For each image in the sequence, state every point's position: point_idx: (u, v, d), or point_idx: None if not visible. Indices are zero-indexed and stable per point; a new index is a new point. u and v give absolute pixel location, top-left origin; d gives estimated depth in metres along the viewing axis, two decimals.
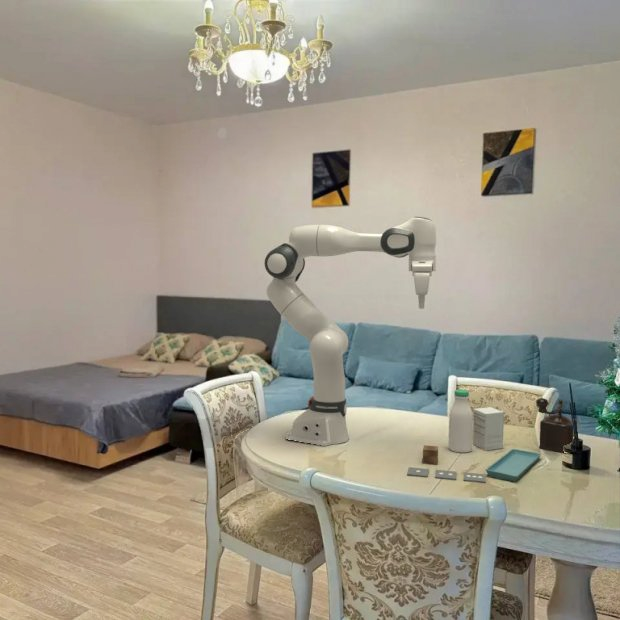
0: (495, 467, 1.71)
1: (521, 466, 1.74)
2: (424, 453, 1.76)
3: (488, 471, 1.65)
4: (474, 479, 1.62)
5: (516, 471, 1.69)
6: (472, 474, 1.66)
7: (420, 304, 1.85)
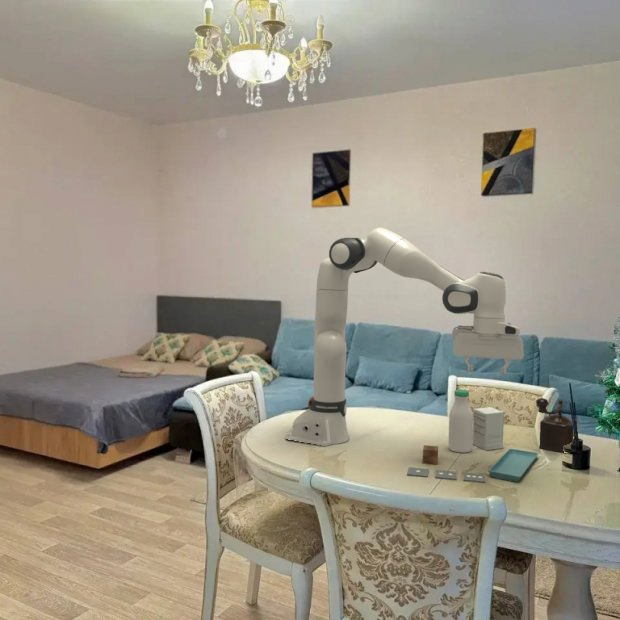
0: (496, 468, 1.71)
1: (521, 466, 1.74)
2: (424, 453, 1.76)
3: (491, 472, 1.65)
4: (474, 479, 1.62)
5: (517, 471, 1.69)
6: (472, 474, 1.66)
7: (505, 369, 1.69)
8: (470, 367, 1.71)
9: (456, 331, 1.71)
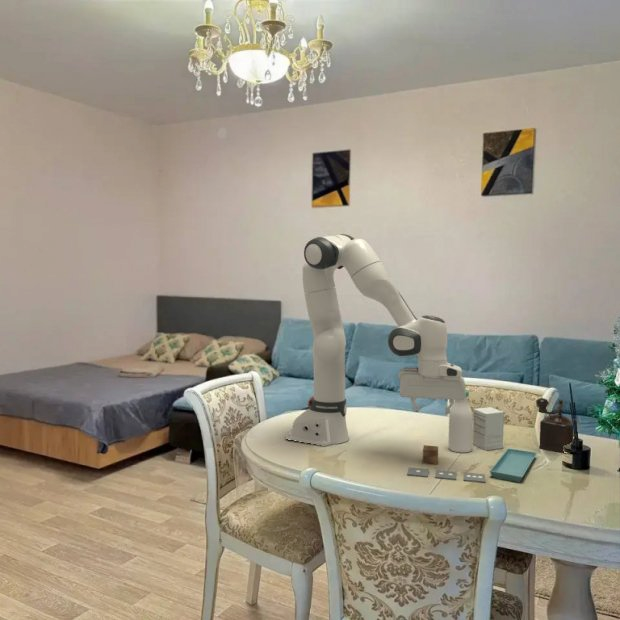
0: (497, 468, 1.70)
1: (521, 466, 1.74)
2: (424, 453, 1.76)
3: (492, 472, 1.64)
4: (474, 479, 1.62)
5: (518, 471, 1.69)
6: (472, 474, 1.66)
7: None
8: (416, 407, 1.77)
9: (402, 373, 1.78)
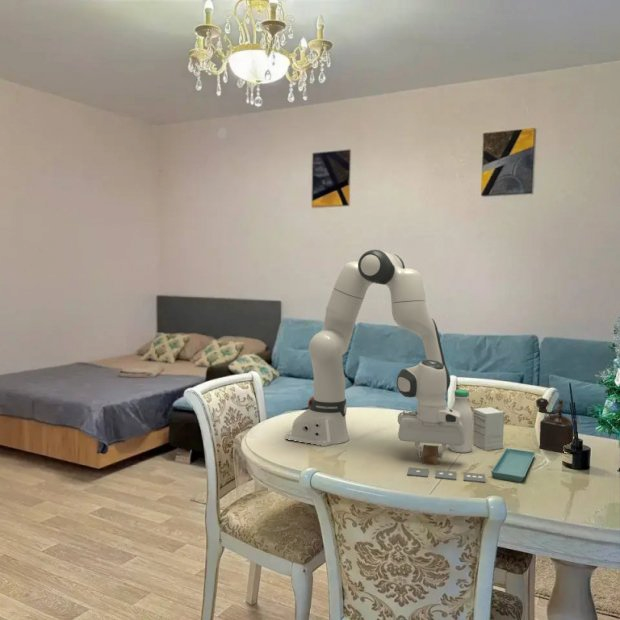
0: (497, 468, 1.70)
1: (520, 466, 1.74)
2: (424, 453, 1.76)
3: (494, 473, 1.64)
4: (474, 479, 1.62)
5: (518, 471, 1.69)
6: (472, 474, 1.66)
7: (442, 453, 1.77)
8: (420, 452, 1.78)
9: (401, 416, 1.79)
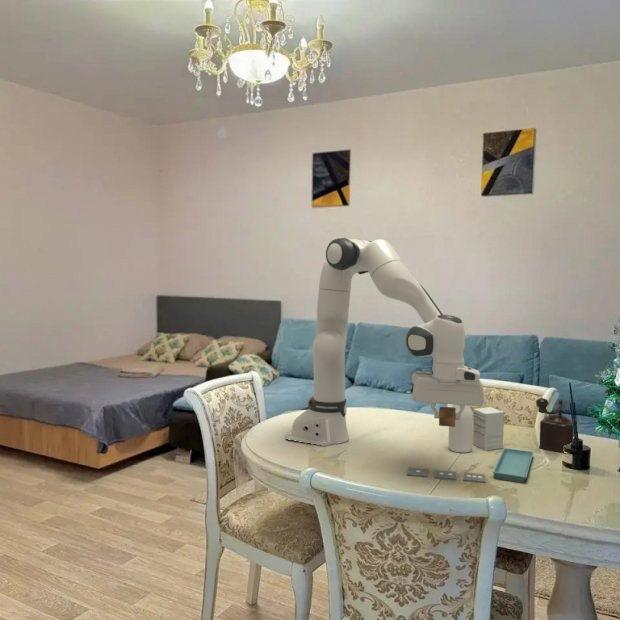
0: (498, 468, 1.70)
1: (520, 466, 1.74)
2: (441, 414, 1.63)
3: (496, 473, 1.64)
4: (474, 479, 1.62)
5: (519, 471, 1.69)
6: (472, 474, 1.66)
7: (460, 415, 1.64)
8: (436, 413, 1.65)
9: (415, 376, 1.66)
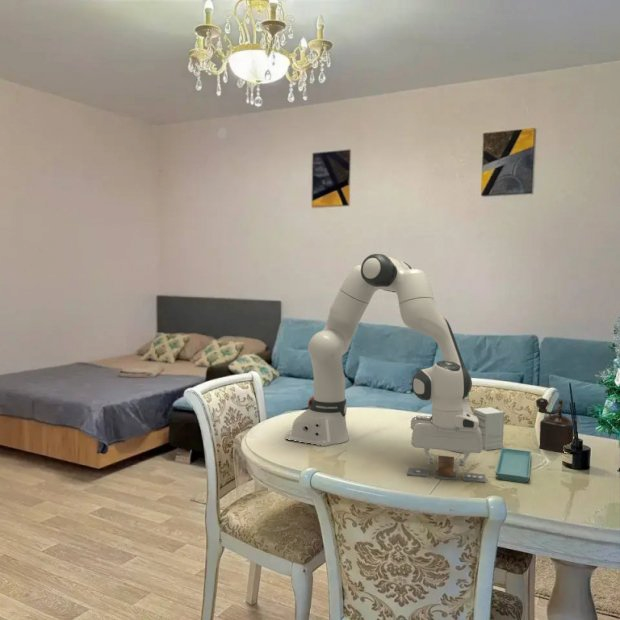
0: (499, 469, 1.70)
1: (520, 465, 1.74)
2: (439, 464, 1.64)
3: (499, 474, 1.63)
4: (474, 479, 1.62)
5: (520, 471, 1.69)
6: (472, 474, 1.66)
7: (464, 461, 1.64)
8: (430, 459, 1.66)
9: (414, 421, 1.67)
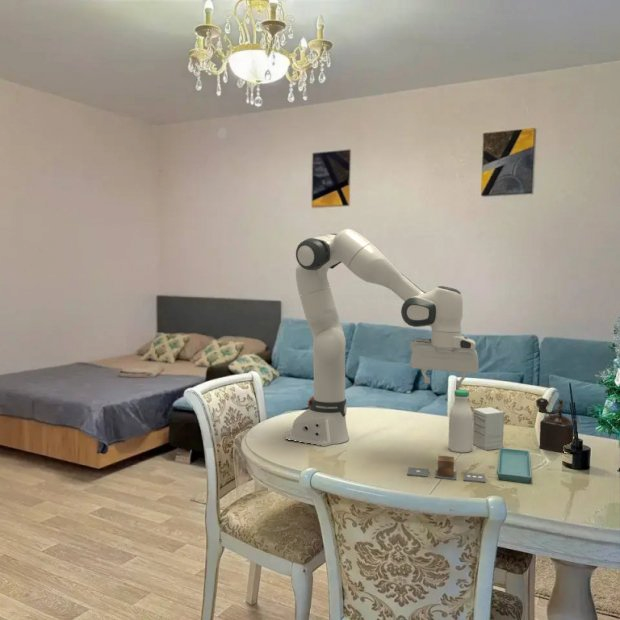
0: (500, 469, 1.69)
1: (520, 465, 1.74)
2: (439, 464, 1.64)
3: (501, 474, 1.63)
4: (474, 479, 1.62)
5: (520, 471, 1.69)
6: (472, 474, 1.66)
7: (461, 382, 1.72)
8: (427, 379, 1.74)
9: (414, 344, 1.75)
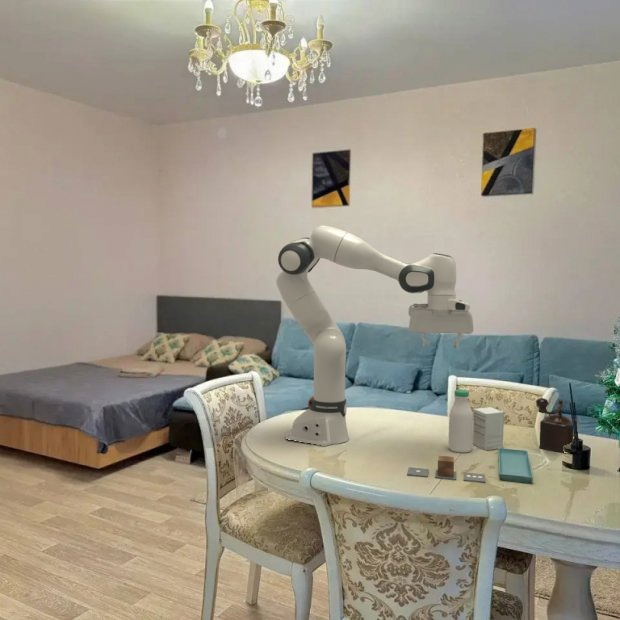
0: (501, 469, 1.69)
1: (519, 465, 1.74)
2: (439, 464, 1.64)
3: (502, 475, 1.62)
4: (474, 479, 1.62)
5: (521, 471, 1.69)
6: (472, 474, 1.66)
7: None
8: (425, 342, 1.84)
9: (412, 309, 1.85)
